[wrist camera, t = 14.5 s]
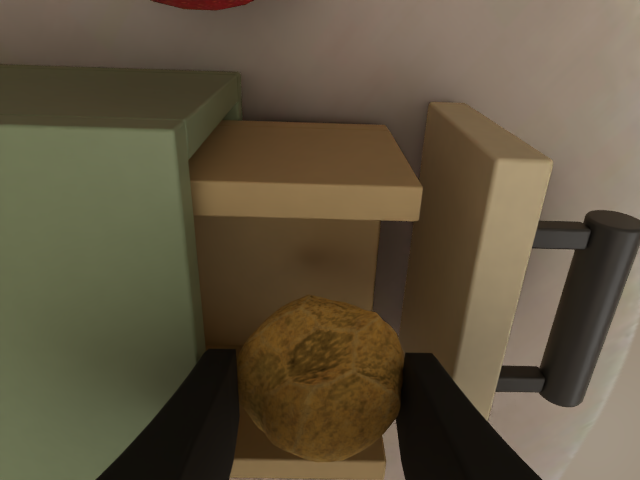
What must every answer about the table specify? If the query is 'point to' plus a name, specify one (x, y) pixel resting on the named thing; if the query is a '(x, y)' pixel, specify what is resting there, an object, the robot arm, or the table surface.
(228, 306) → the drawer
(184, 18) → the table surface
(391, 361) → the rock
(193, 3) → the strawberry
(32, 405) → the cabinet
